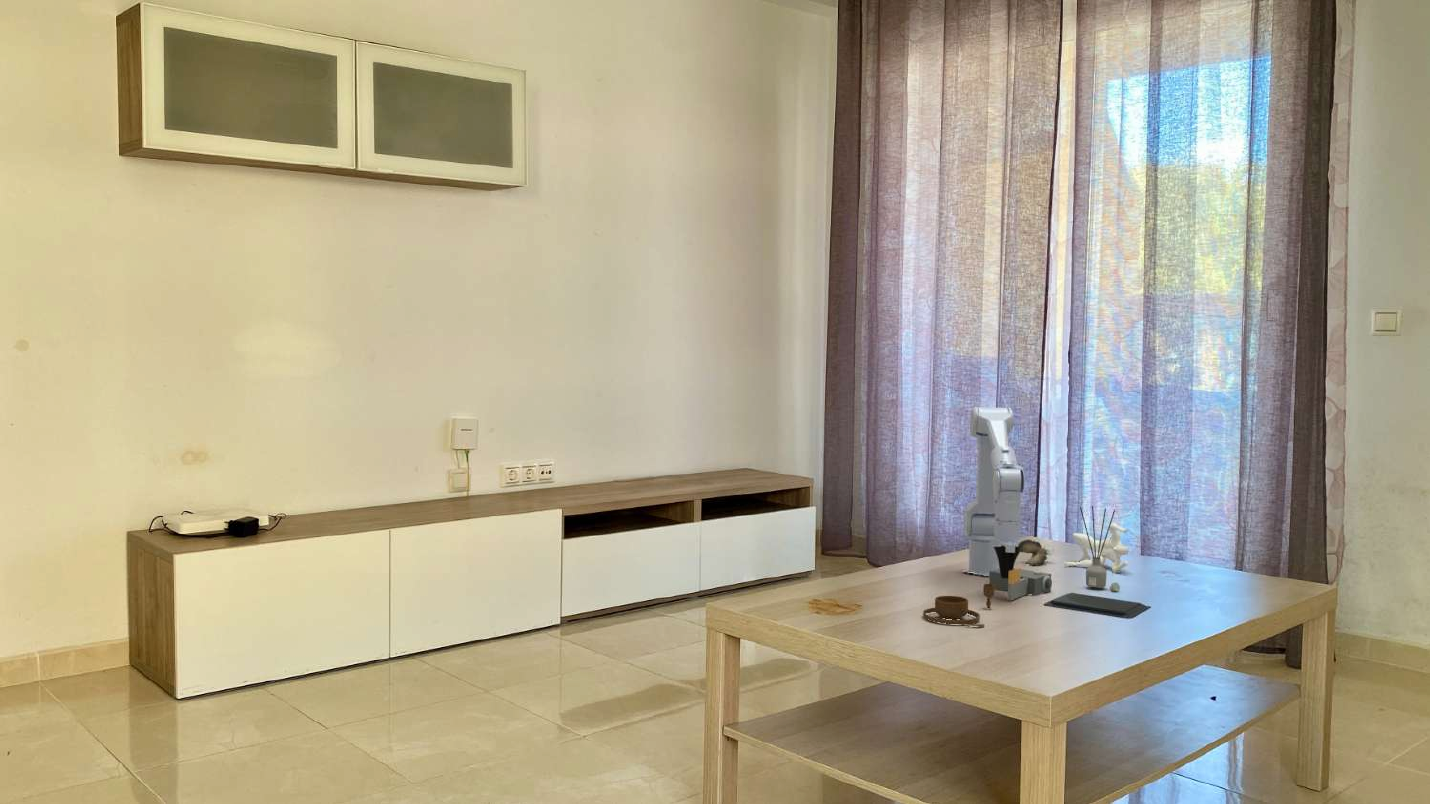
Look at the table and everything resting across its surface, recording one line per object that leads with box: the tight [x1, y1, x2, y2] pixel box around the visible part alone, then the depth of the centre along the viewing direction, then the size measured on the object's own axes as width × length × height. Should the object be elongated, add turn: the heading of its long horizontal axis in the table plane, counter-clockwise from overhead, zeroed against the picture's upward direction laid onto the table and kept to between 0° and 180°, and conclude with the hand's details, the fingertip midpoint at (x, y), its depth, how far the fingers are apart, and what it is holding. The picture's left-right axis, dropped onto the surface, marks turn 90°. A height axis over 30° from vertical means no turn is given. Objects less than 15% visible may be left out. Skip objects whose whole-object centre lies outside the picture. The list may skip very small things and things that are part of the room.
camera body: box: [988, 567, 1053, 596], centre depth 267 cm, size 8×13×4 cm, turn 47°
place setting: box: [922, 583, 996, 629], centre depth 238 cm, size 18×20×6 cm
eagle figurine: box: [1017, 539, 1055, 566], centre depth 300 cm, size 8×7×9 cm
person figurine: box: [1063, 522, 1130, 574], centre depth 295 cm, size 13×13×18 cm
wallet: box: [1043, 592, 1152, 620], centre depth 250 cm, size 20×2×15 cm
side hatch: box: [1007, 567, 1028, 601], centre depth 258 cm, size 1×10×7 cm, turn 142°
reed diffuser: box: [1079, 505, 1121, 592], centre depth 269 cm, size 10×7×20 cm
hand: (1005, 578), depth 258 cm, fingers closed
